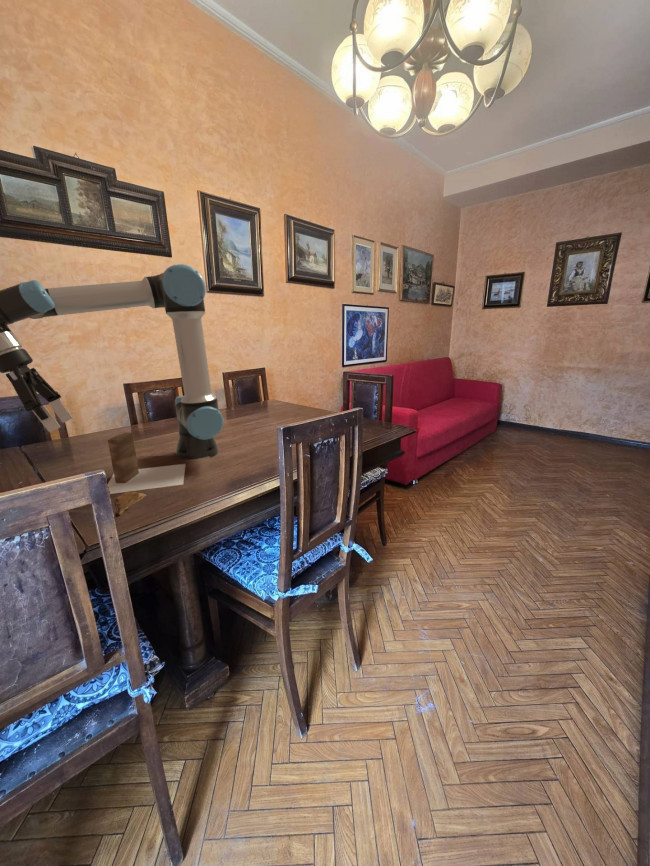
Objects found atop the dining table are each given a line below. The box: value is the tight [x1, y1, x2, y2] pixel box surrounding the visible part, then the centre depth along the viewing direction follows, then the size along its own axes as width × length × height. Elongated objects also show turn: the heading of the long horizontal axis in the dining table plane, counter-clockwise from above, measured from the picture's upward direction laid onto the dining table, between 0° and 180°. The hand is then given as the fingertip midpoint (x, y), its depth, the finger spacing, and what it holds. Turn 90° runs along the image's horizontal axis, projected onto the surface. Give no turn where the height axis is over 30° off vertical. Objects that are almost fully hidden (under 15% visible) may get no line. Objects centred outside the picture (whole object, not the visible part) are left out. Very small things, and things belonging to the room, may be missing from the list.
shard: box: [113, 491, 147, 516], centre depth 96 cm, size 11×8×2 cm
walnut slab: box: [107, 431, 139, 483], centre depth 109 cm, size 3×8×14 cm, turn 179°
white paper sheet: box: [107, 463, 186, 495], centre depth 112 cm, size 22×18×1 cm
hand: (62, 424), depth 97 cm, fingers open, 13 cm apart
